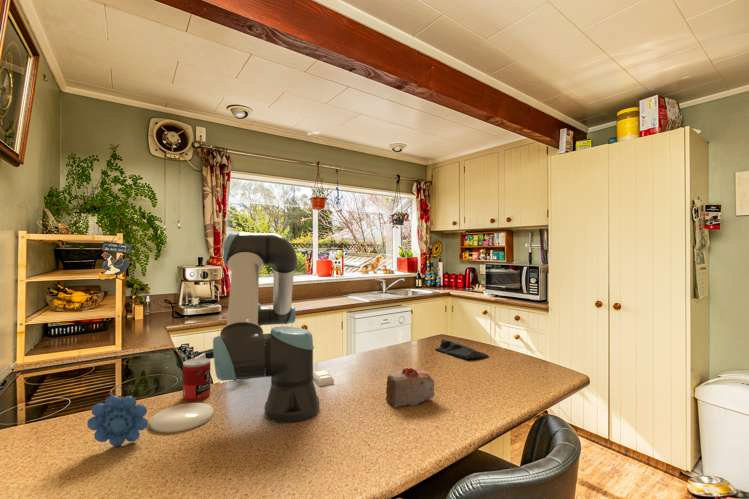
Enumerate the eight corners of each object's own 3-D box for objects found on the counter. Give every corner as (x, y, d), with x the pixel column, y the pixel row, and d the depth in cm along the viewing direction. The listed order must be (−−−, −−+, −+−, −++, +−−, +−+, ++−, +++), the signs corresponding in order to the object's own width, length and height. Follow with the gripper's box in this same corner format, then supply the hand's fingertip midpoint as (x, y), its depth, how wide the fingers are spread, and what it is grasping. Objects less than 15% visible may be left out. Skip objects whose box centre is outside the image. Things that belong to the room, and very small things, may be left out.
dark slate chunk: (463, 363, 146) (463, 351, 147) (432, 350, 166) (432, 339, 166) (492, 358, 153) (492, 347, 153) (458, 346, 173) (458, 336, 173)
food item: (421, 393, 115) (421, 362, 115) (436, 402, 108) (436, 369, 108) (383, 400, 109) (383, 368, 109) (396, 411, 102) (396, 376, 102)
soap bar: (325, 376, 131) (325, 369, 131) (333, 384, 123) (333, 377, 123) (312, 379, 129) (312, 371, 129) (320, 387, 121) (320, 379, 121)
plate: (224, 414, 100) (224, 410, 100) (170, 438, 87) (170, 433, 87) (192, 402, 108) (192, 398, 108) (138, 423, 95) (138, 418, 95)
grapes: (84, 462, 77) (84, 406, 77) (88, 448, 83) (88, 396, 83) (148, 447, 83) (148, 395, 83) (148, 434, 89) (148, 385, 89)
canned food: (199, 402, 108) (199, 365, 108) (176, 400, 110) (176, 364, 110) (215, 392, 116) (215, 358, 116) (194, 390, 117) (194, 357, 117)
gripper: (271, 356, 143) (248, 375, 122) (211, 355, 145) (178, 373, 124) (271, 337, 143) (248, 353, 122) (211, 336, 145) (178, 351, 124)
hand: (213, 363), depth 122 cm, fingers open, 13 cm apart
